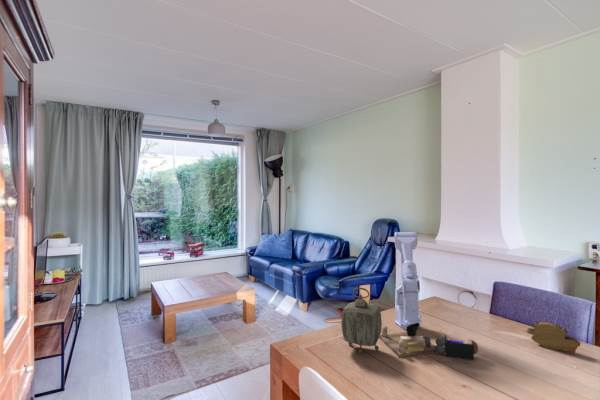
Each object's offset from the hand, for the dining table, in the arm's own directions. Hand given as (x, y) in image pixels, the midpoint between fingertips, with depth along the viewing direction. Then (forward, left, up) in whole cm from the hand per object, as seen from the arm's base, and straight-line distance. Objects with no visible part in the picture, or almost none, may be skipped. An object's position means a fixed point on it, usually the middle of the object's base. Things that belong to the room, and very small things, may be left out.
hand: (411, 340), depth 128 cm
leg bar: (+3, 0, -1) cm, 3 cm away
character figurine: (+12, +11, -2) cm, 17 cm away
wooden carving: (+16, +51, -2) cm, 53 cm away
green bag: (-1, -21, -2) cm, 21 cm away
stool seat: (-1, -1, -2) cm, 3 cm away
